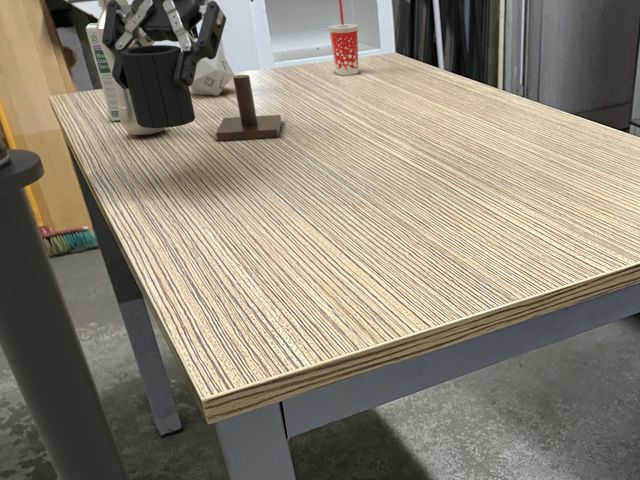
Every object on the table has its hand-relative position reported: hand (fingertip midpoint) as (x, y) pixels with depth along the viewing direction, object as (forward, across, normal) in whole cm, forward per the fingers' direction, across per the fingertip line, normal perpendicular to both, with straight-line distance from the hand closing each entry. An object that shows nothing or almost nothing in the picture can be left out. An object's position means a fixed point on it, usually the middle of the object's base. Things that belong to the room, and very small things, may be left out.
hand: (151, 85), depth 81 cm
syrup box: (-15, -26, +33) cm, 45 cm away
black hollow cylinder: (+2, 0, +4) cm, 5 cm away
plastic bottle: (-8, -18, +26) cm, 33 cm away
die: (-28, -20, +46) cm, 57 cm away
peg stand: (-10, -2, +28) cm, 30 cm away
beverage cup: (-42, 0, +60) cm, 73 cm away
